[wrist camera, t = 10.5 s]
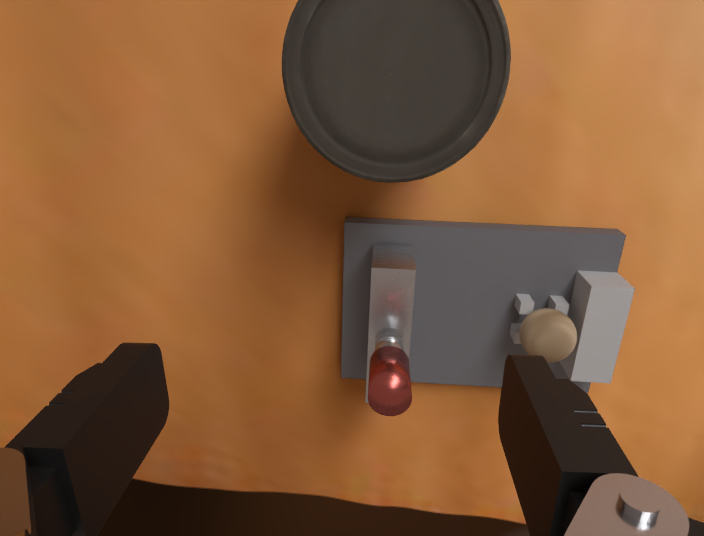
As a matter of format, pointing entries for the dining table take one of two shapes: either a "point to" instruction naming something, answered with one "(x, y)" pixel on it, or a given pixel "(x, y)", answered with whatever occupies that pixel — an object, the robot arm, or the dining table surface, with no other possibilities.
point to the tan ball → (548, 334)
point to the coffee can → (395, 81)
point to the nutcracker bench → (490, 296)
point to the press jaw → (390, 329)
